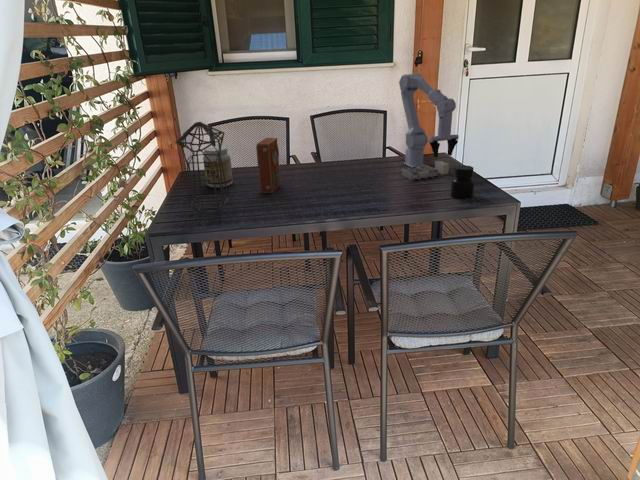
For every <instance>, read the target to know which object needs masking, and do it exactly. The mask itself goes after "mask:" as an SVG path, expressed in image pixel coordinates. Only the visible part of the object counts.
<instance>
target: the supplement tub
mask: <svg viewBox="0 0 640 480" xmlns="http://www.w3.org/2000/svg"><path fill="white" fill-rule="evenodd" d="M214 146H215V148H216V149H217V151H218V150H219V151H220V149H219V145H214ZM214 146H213V145H211V146H209V147H208V148H206V149H204V150H203V152H204V154H218V152H217V151H216V149H215V148H214ZM228 151H229V150H228V147H227V146H224V145H221V159H222V164H223V170H224V175H225V180H226V185H227V187H228V186H231V185H232V184H233V183H234V182H233V181H234V179H233V169H232V161H231V160H232V159H231V155H230V153H228ZM206 156H207V157H208V158H209V160H210V161H211V162H213V161H216V158H218V157H217V155H206ZM209 160H208V159H207V158H206V157H205V156H204V155H202V161H203V162H209ZM220 165H221V161H220ZM212 166H213V172H214V179H215V185H216V189H217V188H219V189H220V186H219V180H218V175H217V170H216V164H215V163H212ZM217 167H218V172H219V178H220V183H221V176H220V168H219V161H218V160H217ZM203 168H204V175H205V183H206V185H207V187H210V188H214V182H213V176H212V169H211V163H203ZM221 173H222V181H223V188H226V187H225V182H224V177H223V172H222V167H221ZM221 188H222V184H221Z"/></svg>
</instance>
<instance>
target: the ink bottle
mask: <svg viewBox="0 0 640 480" xmlns="http://www.w3.org/2000/svg"><path fill="white" fill-rule="evenodd" d="M473 175H474V167H473V166H471V165H462V164H461V165H457V166H455V170H454V177H453V178H452V180H451V185H450V196H451V198H453V199H457V198H460V199H459V200H467V199H466V198H470V199H472V198H473V197H474V194H475V193H474V192H475V183H476V182H475V179H473ZM471 197H472V198H471Z"/></svg>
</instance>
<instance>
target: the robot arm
mask: <svg viewBox="0 0 640 480" xmlns="http://www.w3.org/2000/svg"><path fill="white" fill-rule="evenodd" d="M398 83H399V84H398V85H399V89H400V96H401V100H402V106H403V109H404V114H405V118H406V123H407V127H408V128H407V129H408V131H407V132H406V133H405V144H406V147H407V148H406V150H405V155H404V162H403V163H404V164H403V165H405V164H406V165H405V166H408V167H409V168H411V169H413V168H414V167H415V168H416V167H417V166H418V167H420V166H426V164H425V163H424V152H425V151H424V150H425V148H426V145H427V144H428V143H429V144H430V147H431V149H432V153H433V157H434V158H438V156H439V149H440V145H441V143H440V142H444V141H447V155H448V156H452V154H453V152H454V149H455V148H456V145H457V143H458V142H459V141H458V140H459V134H452V123H453V112H455V110H456V108H457V107H456V106H457V104H456V101H455V100H454V99H453V98H448V96H447V95H445V94H443V93H442V92H441V89H434V88H433V87H432V86H431V85H430V84H429V83H428V82H427V81H426V80H425V77H424V76H423V75H422V74H421V73H419V72H417V73H410V74H402V75H401V77H400V78H399V82H398ZM418 90H420V91H422V92H423V93H424V94H426V95H427V96H428V97H427V98H428V100H429V101H430V102H431V103H432V104H433V105H435V107H436V111H437V112H438V115H437V116H438V127H437V135H436V136H431V137H429V139H428V136H427V134H426V132H425V130H424V129H423V128H422V127H421V126H420V121H419V117H418V112H417V108H416V103H415V99H414V94H415V93H416V92H417V91H418Z"/></svg>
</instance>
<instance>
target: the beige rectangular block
mask: <svg viewBox="0 0 640 480" xmlns="http://www.w3.org/2000/svg"><path fill="white" fill-rule="evenodd" d="M434 168H435V169H437V170H439V171H438V172H439V173H442V174H445V173H448V174H449V168H450V164H449V163H447V162H445V161H442V160H437V161H436V160H435V161H434ZM439 173H438V174H439Z"/></svg>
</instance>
